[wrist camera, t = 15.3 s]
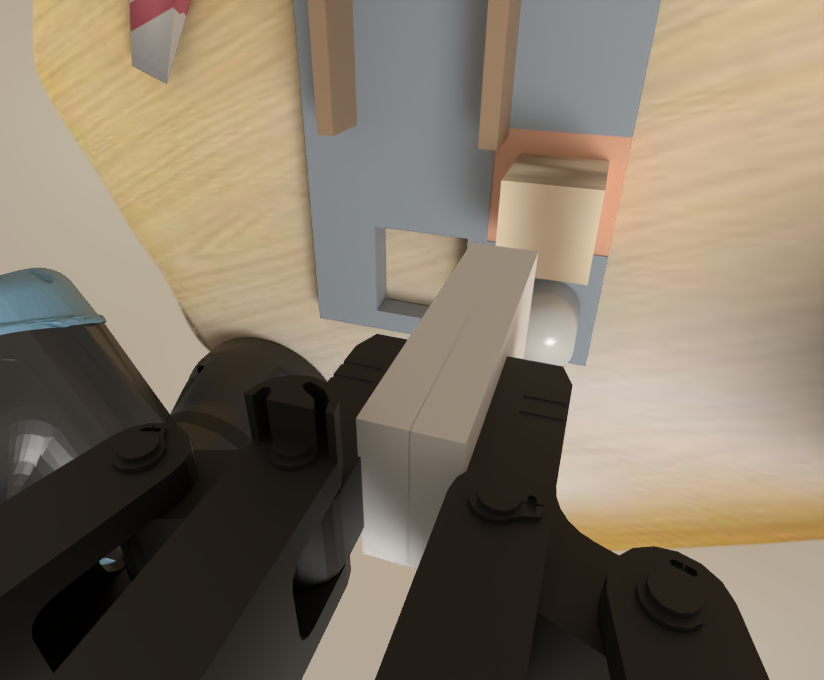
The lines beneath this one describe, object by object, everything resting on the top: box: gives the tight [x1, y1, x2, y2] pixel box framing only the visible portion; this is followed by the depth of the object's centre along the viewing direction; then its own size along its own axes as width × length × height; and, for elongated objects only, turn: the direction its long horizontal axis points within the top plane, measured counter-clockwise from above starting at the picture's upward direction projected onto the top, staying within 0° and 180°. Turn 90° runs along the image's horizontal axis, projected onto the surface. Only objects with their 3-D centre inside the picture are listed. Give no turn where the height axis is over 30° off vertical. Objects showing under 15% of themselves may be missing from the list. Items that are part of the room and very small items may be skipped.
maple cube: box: [495, 153, 610, 285], centre depth 31 cm, size 5×5×6 cm
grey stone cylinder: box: [523, 279, 580, 367], centre depth 35 cm, size 4×4×5 cm
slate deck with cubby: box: [293, 0, 661, 366], centre depth 33 cm, size 20×29×6 cm
